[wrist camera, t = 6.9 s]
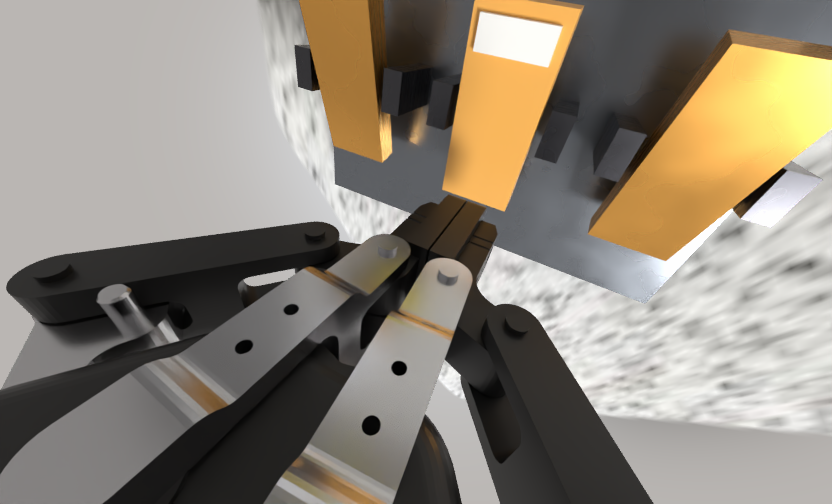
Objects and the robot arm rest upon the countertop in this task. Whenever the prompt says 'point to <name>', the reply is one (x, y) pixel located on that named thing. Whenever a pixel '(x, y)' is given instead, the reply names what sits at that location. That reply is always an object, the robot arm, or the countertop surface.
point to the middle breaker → (505, 93)
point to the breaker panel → (590, 122)
